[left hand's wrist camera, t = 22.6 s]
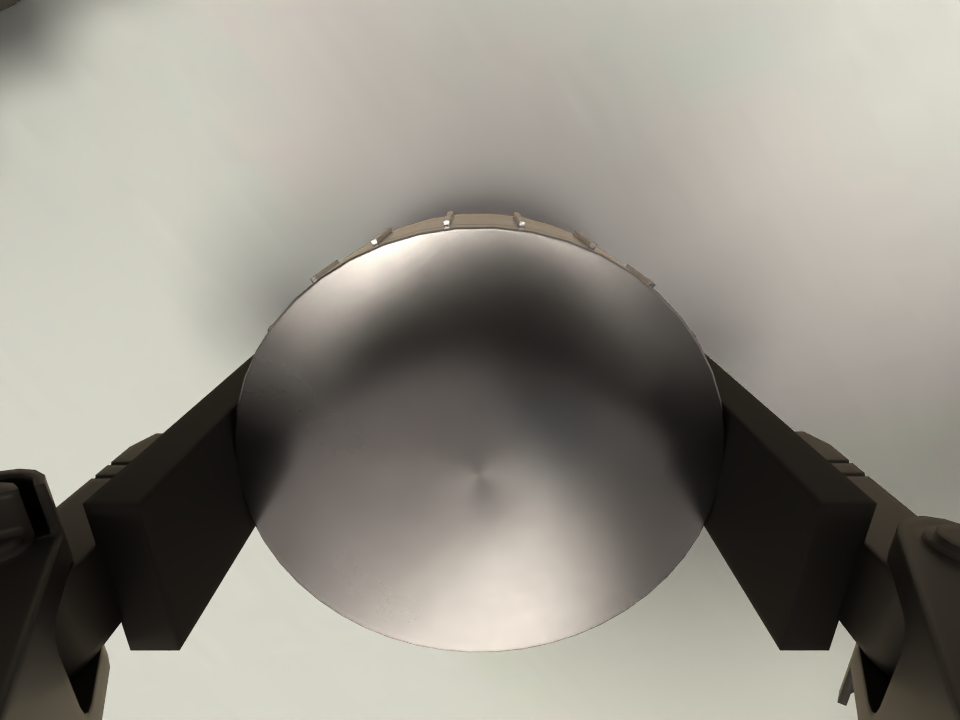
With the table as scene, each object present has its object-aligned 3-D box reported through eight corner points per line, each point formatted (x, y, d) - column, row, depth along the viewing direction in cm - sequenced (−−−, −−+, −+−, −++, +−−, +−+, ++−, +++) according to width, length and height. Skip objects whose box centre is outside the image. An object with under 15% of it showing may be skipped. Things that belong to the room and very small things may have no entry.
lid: (467, 636, 14) (465, 715, 12) (187, 408, 12) (126, 460, 10) (764, 435, 12) (822, 490, 10) (496, 100, 10) (501, 85, 8)
